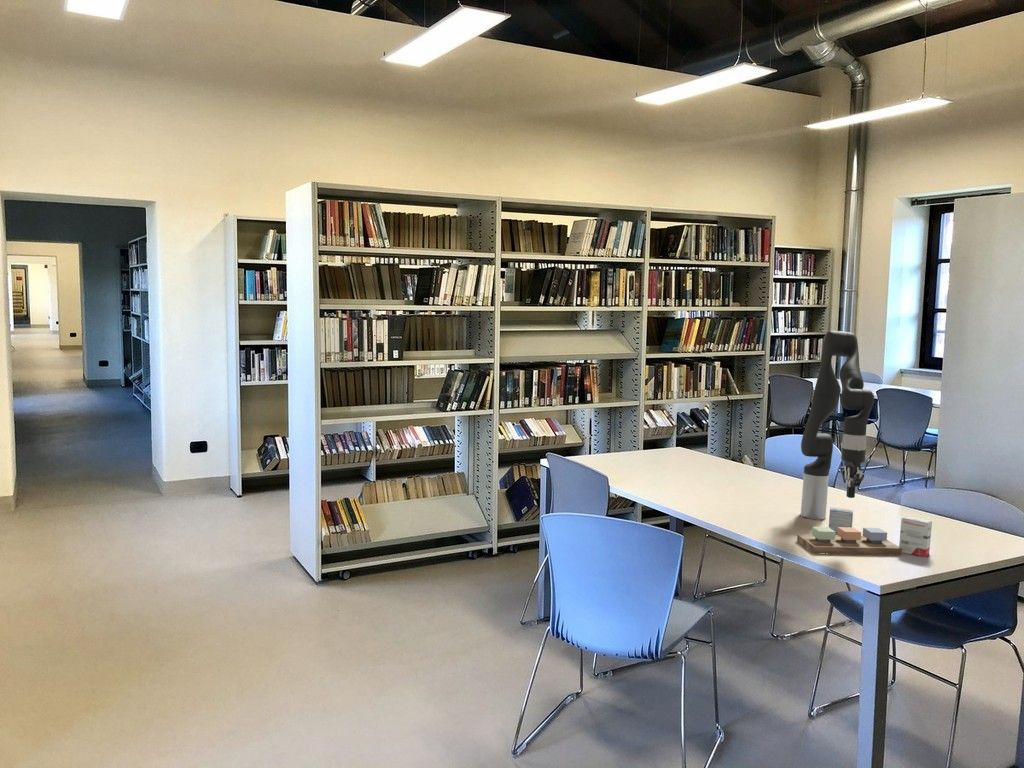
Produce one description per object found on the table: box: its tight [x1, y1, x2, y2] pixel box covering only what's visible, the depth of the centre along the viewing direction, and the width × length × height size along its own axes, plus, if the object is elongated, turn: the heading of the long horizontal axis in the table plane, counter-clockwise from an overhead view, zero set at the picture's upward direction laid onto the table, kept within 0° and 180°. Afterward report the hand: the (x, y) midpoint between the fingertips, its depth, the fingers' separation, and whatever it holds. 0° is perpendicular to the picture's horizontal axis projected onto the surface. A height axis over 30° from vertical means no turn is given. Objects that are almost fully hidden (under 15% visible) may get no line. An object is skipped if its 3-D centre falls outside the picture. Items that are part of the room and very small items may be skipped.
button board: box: [796, 534, 903, 556], centre depth 271 cm, size 14×30×4 cm, turn 92°
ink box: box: [898, 516, 933, 558], centre depth 267 cm, size 8×5×12 cm, turn 47°
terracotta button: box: [836, 526, 862, 540], centre depth 271 cm, size 6×6×3 cm
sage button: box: [811, 526, 836, 540], centre depth 270 cm, size 6×6×3 cm
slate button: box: [862, 527, 888, 541], centre depth 271 cm, size 6×6×3 cm
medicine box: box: [828, 506, 854, 534], centre depth 290 cm, size 8×4×9 cm, turn 66°
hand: (850, 497), depth 270 cm, fingers closed
